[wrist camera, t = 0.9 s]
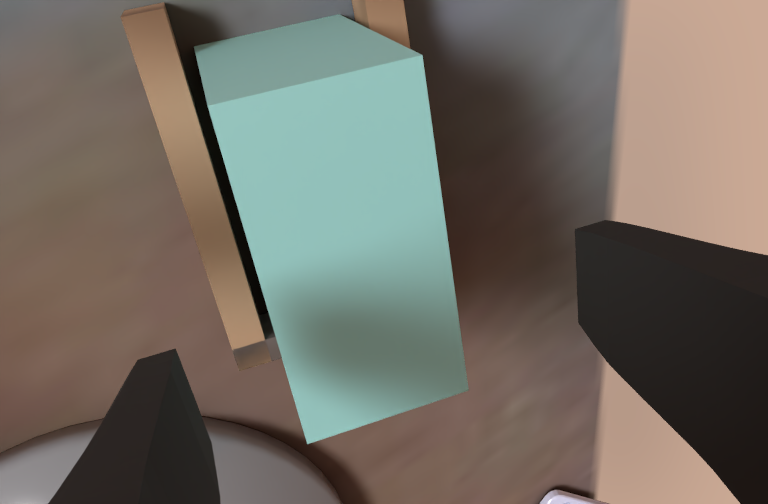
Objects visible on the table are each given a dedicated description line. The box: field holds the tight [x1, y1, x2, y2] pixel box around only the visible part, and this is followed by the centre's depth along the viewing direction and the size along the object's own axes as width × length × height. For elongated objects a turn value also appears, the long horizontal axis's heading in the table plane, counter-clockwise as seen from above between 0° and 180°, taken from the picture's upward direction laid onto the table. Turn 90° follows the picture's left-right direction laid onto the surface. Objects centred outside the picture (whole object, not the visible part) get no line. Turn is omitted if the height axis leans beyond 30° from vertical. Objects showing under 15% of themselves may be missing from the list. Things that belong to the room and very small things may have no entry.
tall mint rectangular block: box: [194, 14, 468, 444], centre depth 17 cm, size 8×4×7 cm, turn 10°
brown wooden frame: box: [121, 0, 410, 371], centre depth 19 cm, size 10×7×2 cm, turn 10°
